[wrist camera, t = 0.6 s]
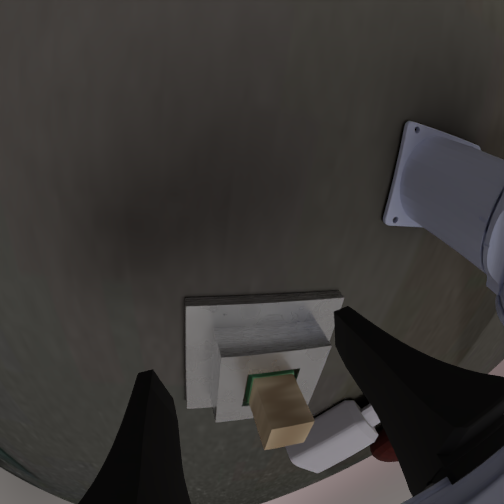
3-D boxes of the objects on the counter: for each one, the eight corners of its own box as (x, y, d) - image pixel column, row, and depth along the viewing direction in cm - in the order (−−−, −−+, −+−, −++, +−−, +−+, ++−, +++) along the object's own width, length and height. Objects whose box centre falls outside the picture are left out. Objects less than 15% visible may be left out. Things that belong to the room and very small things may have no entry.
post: (282, 347, 25) (316, 420, 19) (275, 373, 27) (304, 442, 20) (243, 350, 24) (270, 429, 18) (239, 377, 26) (262, 450, 20)
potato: (370, 423, 41) (391, 459, 35) (413, 407, 43) (434, 438, 37) (356, 446, 45) (373, 478, 39) (396, 430, 47) (414, 459, 41)
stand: (338, 290, 25) (364, 324, 22) (305, 386, 31) (321, 419, 27) (184, 297, 22) (190, 340, 18) (185, 400, 28) (192, 438, 24)
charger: (398, 393, 39) (309, 448, 40) (385, 367, 34) (279, 433, 35) (415, 417, 35) (320, 474, 36) (405, 396, 30) (291, 464, 31)
